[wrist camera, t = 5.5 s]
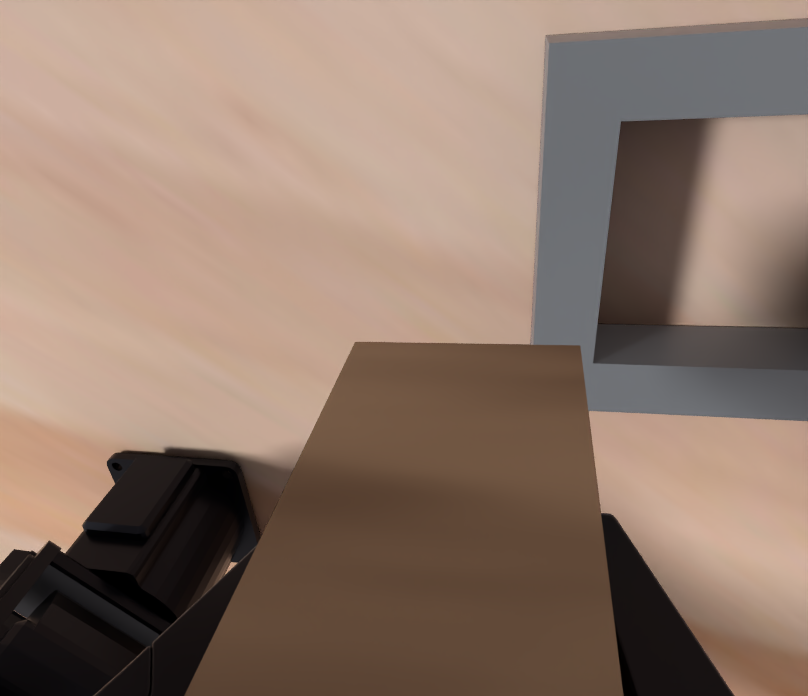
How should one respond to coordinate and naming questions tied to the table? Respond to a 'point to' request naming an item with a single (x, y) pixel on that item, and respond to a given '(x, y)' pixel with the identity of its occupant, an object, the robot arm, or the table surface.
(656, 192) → the table surface
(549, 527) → the walnut post
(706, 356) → the square well
